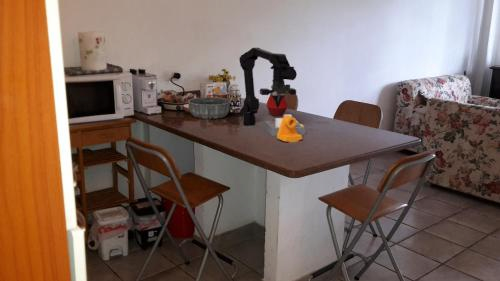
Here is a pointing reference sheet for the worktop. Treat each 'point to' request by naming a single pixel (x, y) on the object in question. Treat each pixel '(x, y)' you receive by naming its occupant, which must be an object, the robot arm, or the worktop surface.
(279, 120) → the tab
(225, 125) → the worktop surface
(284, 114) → the tab
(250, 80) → the robot arm
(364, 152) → the worktop surface
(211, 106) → the bundt pan
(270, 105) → the bottle
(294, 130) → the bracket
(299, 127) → the switch bank
